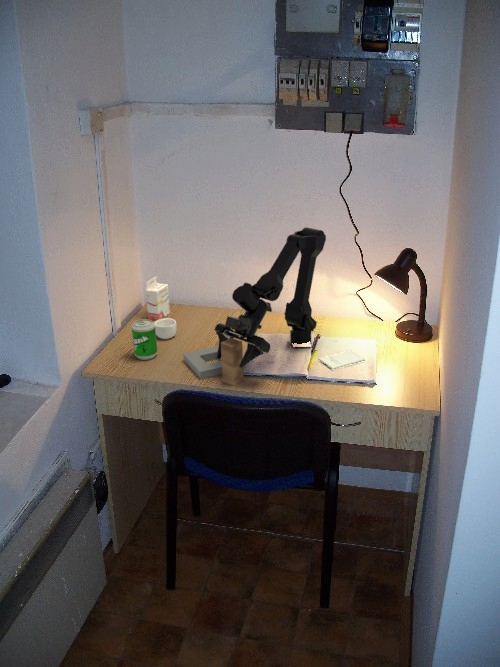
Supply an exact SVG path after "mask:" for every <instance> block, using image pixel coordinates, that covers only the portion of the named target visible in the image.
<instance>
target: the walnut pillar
mask: <svg viewBox="0 0 500 667" xmlns="http://www.w3.org/2000/svg"><path fill="white" fill-rule="evenodd" d="M243 348H244V347H243V341H242V340H239V339H236V338H234V339H233V338H230V339H228V340H225V341H223V342H221V358H222V374H221V375H222V377H221V380H222V382H223V383H225V384H227V385H230V386H233V387H234V386H237V385H238V384H240V383H241V382H243V381H244V367H242V368H241V367H239V366H240V363H241V361H242V359H243V357H244V354H243V352H244V351H243Z"/></svg>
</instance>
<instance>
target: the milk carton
mask: <svg viewBox="0 0 500 667" xmlns="http://www.w3.org/2000/svg"><path fill="white" fill-rule="evenodd" d="M169 295H170V294H169V284H166V283H159V282H158V275H156V276H154V277H152V278H151V279H149V280H148V281H146V282H145V296H146V307H147V308H146V309H147V318H148V320H151V321H157V320H159V319H164V318H165V317H166V316H168V315H169V314H170V312H171V311H170V296H169ZM167 314H168V315H167ZM163 317H164V318H163Z"/></svg>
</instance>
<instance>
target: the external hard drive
mask: <svg viewBox="0 0 500 667" xmlns="http://www.w3.org/2000/svg"><path fill="white" fill-rule="evenodd" d="M317 360H320V361H321V362H323V363H324V364H326V365H327V366H329V367H330V368H331V369H336V368H339V367H343V366H346V365H349V364H354V363H358V362H361V361H365V362H366V359H365V357H362V356H361V355H360V354H358V353H357V352H355V351H353V350H352V349H348V350H345V351H341V352H338V353H335V354H334V353H333V354H330V355H327V356H323V357H320V358H317ZM321 362H320V363H321ZM324 364H323V365H324ZM326 365H325V366H326ZM327 366H326V367H327ZM331 369H330V370H331Z"/></svg>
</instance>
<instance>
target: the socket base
mask: <svg viewBox="0 0 500 667" xmlns="http://www.w3.org/2000/svg"><path fill="white" fill-rule="evenodd" d="M218 347H219V345H216V346H211V347H206V348H203V349H198V350H193V351H190V352H189V351H188V352H184V353H183V354H182V356H183V361H184V363H185V364H186V365H187V366H188V367H189V368H190V370H192V371H193V373H194V374H195V375H196V376H197V377H198V378H199V379H200V380H204V379H207V378H211V377H215V376H220V375H222V358H220V359H218V358H217V353H218ZM217 359H218V361H214V360H217ZM210 361H214V362H210ZM207 362H209V363H207Z"/></svg>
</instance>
